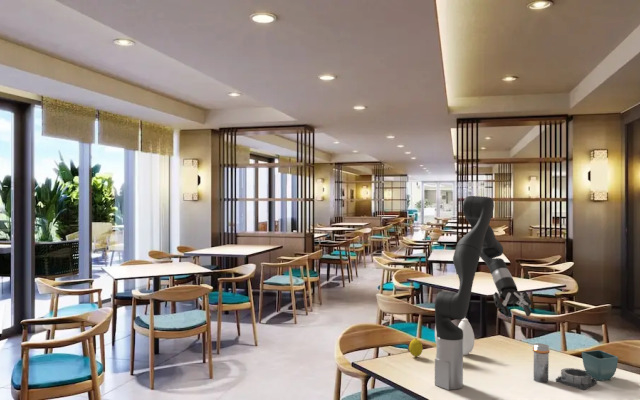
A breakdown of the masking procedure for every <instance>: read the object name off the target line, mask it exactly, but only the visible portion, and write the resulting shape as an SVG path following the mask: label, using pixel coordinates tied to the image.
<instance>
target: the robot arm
mask: <svg viewBox="0 0 640 400" xmlns="http://www.w3.org/2000/svg"><path fill="white" fill-rule="evenodd" d="M494 209H495V202H494V200H493V198H492V197H489V196H480V195H479V196H477V195H470V196H469V195H468V196H465V198H464V200H463V203H462V213H463V215H464V218H465V220H466V221H467V222H468V224H469V226H471V228H472V229H470V230H469V231H468V232H467V233H466V234H465V235H464V236H463V237H461V238H460V239H459V241H458V242H457V244H456V245H455V249H454V253H453V257H452V262H453V265H454V269H455V271H456V275H457V277H458V279H459V287H458V291H457V292H452V291H446V290H444V291H442V290H441V291H439V292H437V294H436V297H435V299H434V319H435V324H434V325H436V331H437V346H436V353H437V358H436V357H435V359H434V386H437V387H439V388H442V389H445V390H448V391H450V390H459V389H462V388H463V386H464V385H463V384H464V383H463V382H464V355H463V331H462V329H461V328H459V327H458V326H457V325H456V324H455V323H454V322H453V321H452V320H459V321H462V319H464V318H466V316H467V313H468V311H469V305H470V300H471V295H472V290H473V286H474V285H473V284H474V279H475V276H476V272H477V268H478V264H479V262H480V259H481V260H482V261H483V262H484V264H485V265H486V266H487V267H488V269H489V271H490V275H491V277H492V280H493V283H494V285H495V288H496V290H497V291H495V292H494V294H493V295H492V298H493V302H494V304H495V307H496V309H501V310H502V312H503V315H504V316H505V317H506V318H510V316H511V312H510V309H509V307H508V306H507V304H509V305H510V304H511V305H512V304H513V305H514V304H516V305H518V306H520V307H522V309H523V311H524V313H525V315H526V317H529V316H531V314H532V311H531V309H530V306H531V305H532V304H533V302H532V299H531V298H530V297H529V295H528V292H526V291H525V290H524V291H523V292H520V291H518V287H517V284H516V282H515V280H514V278H513V276H512V274H511V272H510V270H509V268H508V266H507V264H506V261H505V260H504V259H503V258H499V257H500V256H502V255H503V254H504V247H503V245H502V243H501V242H500V241H499V240H498V239H497V238H496V236H495V231H494V229H493V227H492V226H490V222H491V219H492V216H493V213H494ZM501 299H502V300H503V301H502V302H501Z"/></svg>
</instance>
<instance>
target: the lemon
mask: <svg viewBox="0 0 640 400" xmlns="http://www.w3.org/2000/svg"><path fill="white" fill-rule="evenodd" d="M423 348H424V347H423V344H422V342H421V340H420V339H418V338H414V339H412V340H411V341H410V343H409V347H408V349H409V353H410V354H411V355H412V356H413V357H414V358H418V357H419V356H420V355H422V353H423Z"/></svg>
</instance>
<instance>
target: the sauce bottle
mask: <svg viewBox="0 0 640 400" xmlns="http://www.w3.org/2000/svg"><path fill="white" fill-rule="evenodd" d="M458 327H459V328H461V329H462V331H463V356H468V355H469V354H470V353H472V351H473V349H474V346H475V333H474V330H473V327H472V325H471V323H470V322H469V319H468V318H466V317H465V318H464V319H462V320H460V322H459V324H458Z"/></svg>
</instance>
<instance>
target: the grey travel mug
mask: <svg viewBox="0 0 640 400" xmlns="http://www.w3.org/2000/svg"><path fill="white" fill-rule="evenodd" d="M532 351H533V381H534V382H536V383H542V384H547V383H549V366H550V365H549V362H550V361H549V360H550V359H549V357H550V356H549V354H550V353H551V352H550V349H549V345H548V344H546V343H538V342H537V343H536V342H535V343H534V344H533V347H532Z"/></svg>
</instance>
